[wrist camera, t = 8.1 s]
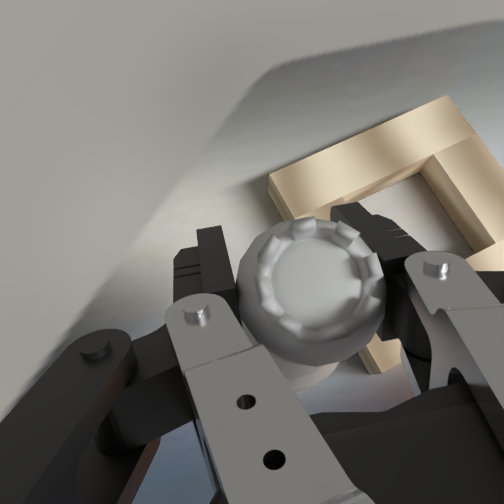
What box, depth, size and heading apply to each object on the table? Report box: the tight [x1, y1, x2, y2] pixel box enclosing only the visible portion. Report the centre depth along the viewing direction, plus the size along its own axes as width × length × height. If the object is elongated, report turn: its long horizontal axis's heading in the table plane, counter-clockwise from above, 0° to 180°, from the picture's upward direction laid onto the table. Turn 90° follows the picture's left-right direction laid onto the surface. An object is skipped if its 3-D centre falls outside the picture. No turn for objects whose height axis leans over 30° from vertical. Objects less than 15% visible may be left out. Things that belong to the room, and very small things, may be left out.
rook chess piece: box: [235, 216, 387, 394], centre depth 12 cm, size 4×4×8 cm
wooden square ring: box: [268, 95, 504, 375], centre depth 29 cm, size 14×14×2 cm
